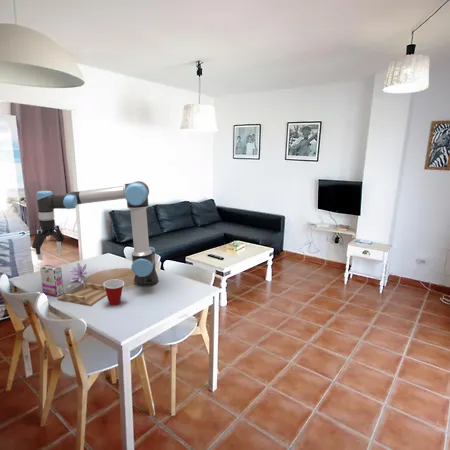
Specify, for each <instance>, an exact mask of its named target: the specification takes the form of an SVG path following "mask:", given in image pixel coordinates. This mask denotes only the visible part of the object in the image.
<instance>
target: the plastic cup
mask: <svg viewBox="0 0 450 450" xmlns="http://www.w3.org/2000/svg"><path fill="white" fill-rule="evenodd" d="M102 285H103V287H104V290H106V294H107V296H106V299H107V301H108V304H109V305H110V306H117V305H119V304H120V303H121V301H122V299H121V298H122V294H123V293H122V292H123V287H124V285H125V282H124V280H122V279H116V278H114V279H108V280H105V281H104V282H103V284H102Z"/></svg>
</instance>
